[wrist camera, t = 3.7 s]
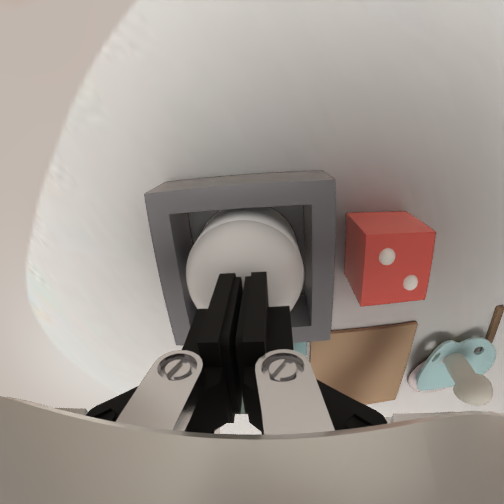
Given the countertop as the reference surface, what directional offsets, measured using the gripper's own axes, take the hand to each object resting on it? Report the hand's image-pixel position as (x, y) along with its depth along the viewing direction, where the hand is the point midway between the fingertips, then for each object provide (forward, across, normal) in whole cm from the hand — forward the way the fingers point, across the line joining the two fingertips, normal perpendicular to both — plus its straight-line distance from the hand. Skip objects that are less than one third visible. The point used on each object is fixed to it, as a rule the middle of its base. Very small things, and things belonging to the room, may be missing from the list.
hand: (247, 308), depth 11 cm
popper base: (+6, -2, 0) cm, 6 cm away
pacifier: (+6, -14, +10) cm, 19 cm away
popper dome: (+6, 0, 0) cm, 6 cm away
